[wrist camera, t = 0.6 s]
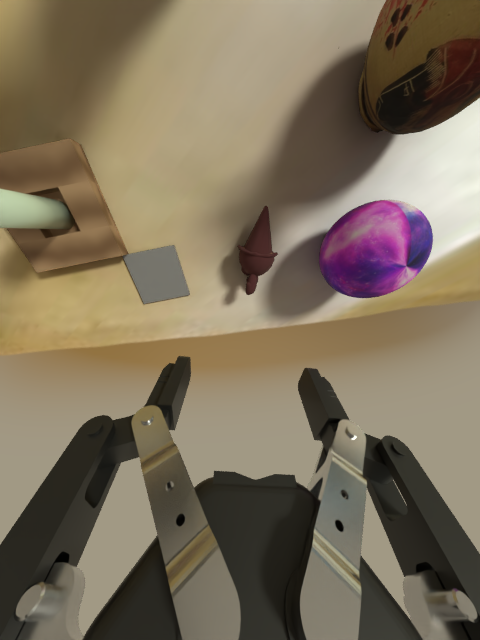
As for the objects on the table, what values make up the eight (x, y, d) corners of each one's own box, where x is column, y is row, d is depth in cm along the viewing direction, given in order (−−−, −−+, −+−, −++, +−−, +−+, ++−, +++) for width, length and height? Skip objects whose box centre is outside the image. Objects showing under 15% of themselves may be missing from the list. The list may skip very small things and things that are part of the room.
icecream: (240, 199, 27) (228, 293, 34) (290, 208, 26) (266, 301, 34) (247, 203, 33) (235, 282, 40) (288, 211, 32) (268, 289, 39)
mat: (123, 255, 34) (122, 255, 34) (174, 245, 34) (173, 245, 34) (144, 303, 39) (144, 303, 39) (189, 294, 39) (189, 294, 38)
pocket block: (-21, 166, 28) (-39, 161, 26) (81, 145, 27) (69, 138, 25) (47, 270, 35) (36, 272, 33) (128, 254, 34) (122, 255, 32)
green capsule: (39, 202, 30) (-67, 185, 19) (65, 197, 30) (-27, 176, 19) (56, 231, 32) (-31, 230, 21) (80, 226, 32) (5, 223, 21)
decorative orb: (307, 291, 41) (347, 320, 27) (304, 216, 34) (357, 205, 20) (373, 277, 40) (447, 299, 27) (383, 198, 34) (489, 176, 20)
